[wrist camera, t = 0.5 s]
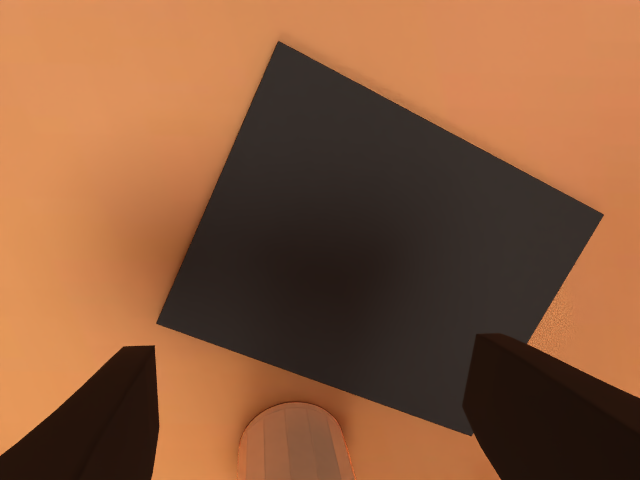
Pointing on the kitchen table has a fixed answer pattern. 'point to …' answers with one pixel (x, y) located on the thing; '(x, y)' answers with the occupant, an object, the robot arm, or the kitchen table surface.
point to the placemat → (369, 245)
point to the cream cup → (294, 446)
